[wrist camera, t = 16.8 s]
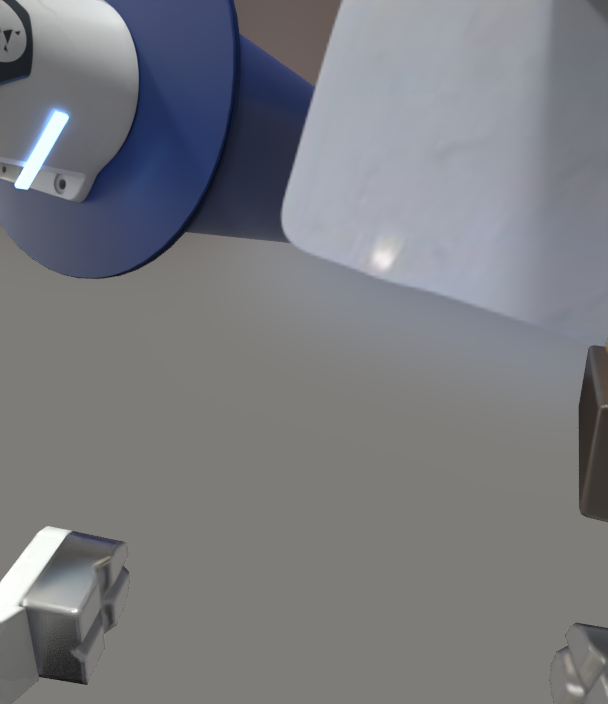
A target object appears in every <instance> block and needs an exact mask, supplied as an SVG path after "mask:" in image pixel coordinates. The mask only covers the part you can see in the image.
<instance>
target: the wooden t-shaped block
mask: <svg viewBox="0 0 608 704" xmlns="http://www.w3.org/2000/svg"><path fill="white" fill-rule="evenodd" d="M579 509H580V512H581V514H582V515H584V516H586V517H589V518H593V519H597V520H601V521H605V522H608V337H607V343H606V347H603V346H595V345H594V346H590V348H589V350H588V355H587V361H586V368H585V373H584V379H583V385H582V391H581V397H580V403H579Z"/></svg>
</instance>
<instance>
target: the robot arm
mask: <svg viewBox="0 0 608 704" xmlns="http://www.w3.org/2000/svg"><path fill="white" fill-rule="evenodd" d="M138 92H139V68H138V60H137V54H136V50H135V46H134V43H133V40H132V37H131V34H130V32H129V30H128V28H127V26H126V24H125V22H124V21H123V19H122V18H121V16H120V15H119V14H118V12H117V11H116V10H115V9H114V8H113V7H112V6H110V5H109V4H108V3H107V2H105V1H104V0H0V179H3V180H6V181H10V182H13V183H15V187H16V188H21V189H27V190H28V188H32V189H35V190H38V191H41V192H44V193H47V194H51V195H54V196H57V197H60V198H63V199H66V200H70V201H74V202H78V203H79V202H82V201H84V200H85V198H86V197H87V195H88V194H89V192H90V190H91V188H92V185H93V183H94V181H95V178H96V176H97V175H98V173H99V172H100V171H101V170H102V169H103V168H104V167H105V166H106V165H107V164H108V163H109V162H110V161H111V160H112V159H113V158H114V156H115V155H116V154H117V153H118V151H119V150H120V148H121V147H122V145H123V143H124V141H125V140H126V137H127V135H128V133H129V131H130V128H131V125H132V123H133V119H134V116H135V112H136V107H137V101H138ZM127 557H128V547H127V543H126V542H123V541H118V540H113V539H108V538H104V537H99V536H94V535H89V534H85V533H79V532H75V531H69V530H64V529H59V528H54V527H49V526H47V527H46V528H44V529H43V530H41V531H40V532H38V534H37V535H36V536H35V537H34V539H33V540H32V541H31V543H30V544H29V545H28V547H27V548H26V549H25V551H24V552H23V553H22V554H21V556H20V557H19V558H18V560H17V561H16V562H15V564H14V565H13V566H12V568H11V569H10V570H9V571H8V573H7V574H6V575H5V577H4V578H3V579H2V581H1V582H0V704H11V703H13V702H14V701H15V700H16V699H17V698H19V697H20V696H21V695H22V694H23V693H24V692H26V691H27V690H28V689H29V688H30V687H32V686H33V685H34V684H35V683H36V682H37V681H39V677H43V678H49V679H55V680H61V681H67V682H73V683H79V684H85V685H87V684H88V682H89V680H90V678H91V676H92V674H93V672H94V670H95V667H96V666H97V663H98V662H99V660H100V657H101V655H102V654H103V651H104V649H105V644H104V634H105V633H106V632H107V631H109V630H110V629H112V628H113V627H114V626H116V624H117V623H118V620H119V618H120V616H121V614H122V612H123V609H124V606H125V602H126V599H127V596H128V591H129V583H130V576H129V571H128V570H127V569H126V568H125V567H124V566H123V565H124V563H125V561H126V559H127ZM565 637H566V640H567V643H568V646H566V647H564V648H562V649H560V650H558V651H557V652H556V654H555V656H554V658H553V660H552V662H551V668H550V688H551V695H552V698H553V702H554V704H608V628H604V627H599V626H593V625H587V624H581V623H575V624H573V625H571V626H570V627H569V629H568V631H567V632H566V634H565Z"/></svg>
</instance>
